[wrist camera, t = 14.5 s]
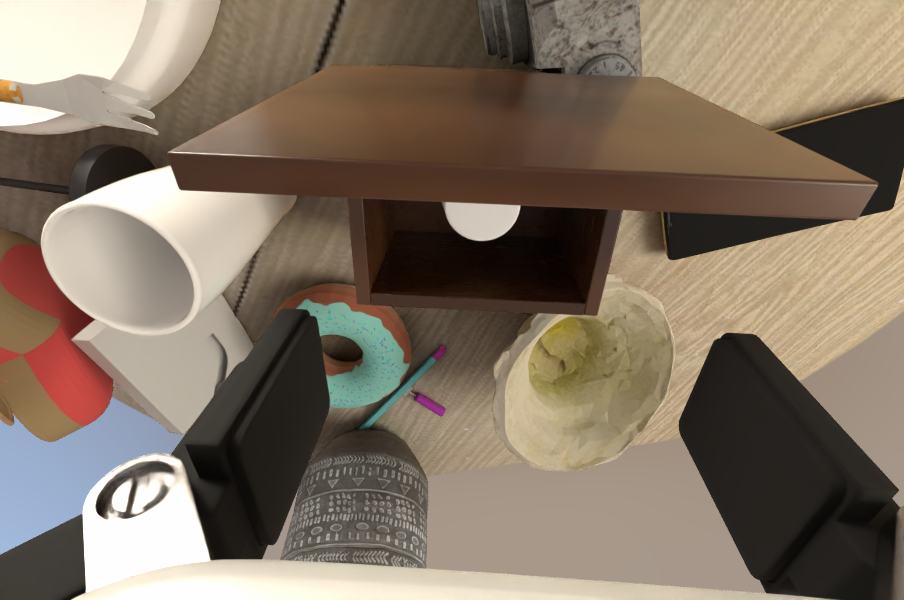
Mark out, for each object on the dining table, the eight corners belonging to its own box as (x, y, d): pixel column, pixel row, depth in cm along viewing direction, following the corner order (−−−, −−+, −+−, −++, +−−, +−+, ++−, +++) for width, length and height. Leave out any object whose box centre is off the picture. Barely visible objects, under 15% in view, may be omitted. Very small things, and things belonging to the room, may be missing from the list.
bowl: (678, 358, 38) (738, 450, 30) (533, 413, 42) (548, 508, 34) (619, 217, 32) (673, 281, 23) (455, 297, 36) (449, 377, 27)
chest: (564, 243, 33) (597, 316, 24) (387, 235, 33) (356, 304, 25) (594, 72, 27) (653, 87, 18) (379, 64, 27) (335, 74, 19)
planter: (383, 490, 51) (370, 623, 41) (287, 455, 45) (246, 600, 35) (452, 447, 45) (456, 591, 35) (353, 401, 39) (325, 557, 30)
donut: (249, 314, 37) (226, 341, 34) (357, 249, 34) (344, 272, 30) (337, 403, 42) (325, 435, 39) (440, 354, 39) (437, 384, 35)
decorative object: (121, 328, 39) (128, 437, 29) (73, 349, 38) (63, 472, 28) (0, 189, 31) (-51, 272, 21) (-66, 209, 30) (-157, 310, 19)
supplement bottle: (524, 140, 29) (542, 172, 21) (504, 207, 31) (514, 257, 24) (454, 122, 28) (447, 149, 21) (439, 192, 31) (428, 237, 23)
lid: (858, 221, 9) (883, 182, 8) (177, 192, 9) (163, 151, 8) (654, 98, 18) (660, 77, 18) (333, 85, 18) (330, 64, 18)
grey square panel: (218, 249, 36) (186, 250, 37) (70, 305, 26) (35, 305, 28) (264, 372, 40) (234, 369, 42) (151, 458, 31) (118, 451, 32)
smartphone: (897, 209, 30) (667, 263, 32) (883, 204, 30) (661, 256, 33) (922, 95, 26) (662, 165, 29) (906, 93, 27) (655, 161, 30)
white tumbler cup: (198, 147, 31) (-2, 224, 18) (283, 118, 29) (135, 177, 16) (248, 234, 34) (109, 352, 21) (326, 210, 33) (231, 320, 20)
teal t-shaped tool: (387, 464, 46) (347, 442, 44) (388, 458, 46) (349, 436, 45) (483, 378, 39) (440, 349, 38) (483, 372, 40) (440, 344, 39)
